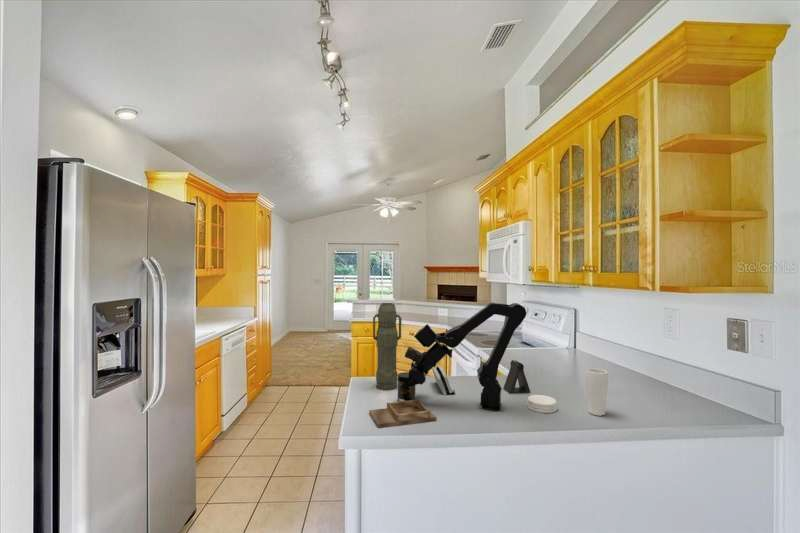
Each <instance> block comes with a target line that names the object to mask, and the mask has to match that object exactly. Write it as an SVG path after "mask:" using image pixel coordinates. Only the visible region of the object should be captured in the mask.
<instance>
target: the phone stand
mask: <svg viewBox="0 0 800 533" xmlns="http://www.w3.org/2000/svg"><path fill="white" fill-rule="evenodd" d="M509 365H510V367H509V371H508V374H507V377H506V378H505V379H506V380H505V383H504V385H503V390H504V391H505V392H507V393H508V394H510V395H514V394H530V393H531V389H530V387H529V383H528V379H527V377H526V375H525V371H524V368H525V366H524V364H523V363H521V362H520V361H518V360H515V359H514V360H513V359H512V360H511V361H510V364H509ZM517 382H518V387H516V386H517Z"/></svg>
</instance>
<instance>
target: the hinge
mask: <svg viewBox="0 0 800 533" xmlns="http://www.w3.org/2000/svg"><path fill="white" fill-rule="evenodd" d="M431 370H432V373H433V376H434V378H435V382H436V383H437V385H438V387H439V389H440V392H441V393H442V395H443V396H447V395H448V393H449V394H452V393H453V394H454V395H455V396H456V395H457V393H456V390H455V389H454V387H453V386H452V385H451V383H450V382H449V378H448V376H447V374H446V372H445V370H444V368H443V367H442V365H436V366H435V367H433V368H432V369H431Z"/></svg>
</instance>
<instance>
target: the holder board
mask: <svg viewBox="0 0 800 533" xmlns="http://www.w3.org/2000/svg"><path fill="white" fill-rule="evenodd" d="M368 414H369V415H370V417H371V419H372V421H373V423H374V424H375V426H376V427H377V428H378V429H382V428H388V427H396V426H397V427H399V426H404V425H411V424H421V423H429V422H437V419H438V418H437V416H436V414H434V413H433V412H432V411H431V410H430V409H429V408H428V407H427V406H426V405H425V404H423V402H421V401H420V399H415V400H409V401H400V402H398V401H392V402H391V401H390V402H386V408H377V409H369V410H368Z"/></svg>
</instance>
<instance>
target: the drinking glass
mask: <svg viewBox="0 0 800 533" xmlns="http://www.w3.org/2000/svg"><path fill="white" fill-rule="evenodd" d="M608 386H609V372H608V371H607V370H606V369H604V368H603V369H602V368H597V367H594V368H593V367H589V368H587V369H586V391H587V392H586V393H587V394H586V395H587V410H588V413H589V414H590V415H594V416H597V417H599V416H600V417H601V416H602V415H603V416H605V415H606V406H607V397H608V396H607V395H608Z"/></svg>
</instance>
